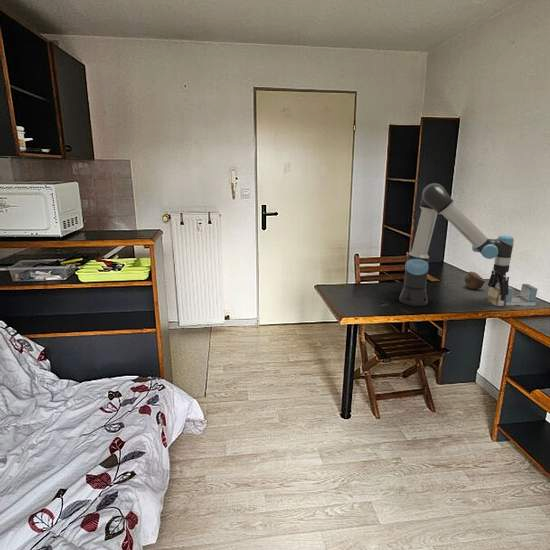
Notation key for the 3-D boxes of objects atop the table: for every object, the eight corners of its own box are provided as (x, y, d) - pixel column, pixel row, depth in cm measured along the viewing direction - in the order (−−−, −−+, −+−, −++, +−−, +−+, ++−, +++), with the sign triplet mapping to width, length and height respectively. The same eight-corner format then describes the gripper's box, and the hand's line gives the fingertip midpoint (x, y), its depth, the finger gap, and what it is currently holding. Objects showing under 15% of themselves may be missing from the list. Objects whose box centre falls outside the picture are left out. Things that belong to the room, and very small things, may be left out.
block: (494, 305, 221) (496, 291, 218) (487, 300, 228) (489, 287, 226) (503, 305, 221) (505, 291, 218) (495, 300, 228) (498, 287, 226)
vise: (506, 305, 221) (509, 289, 218) (495, 298, 231) (498, 283, 228) (535, 305, 220) (538, 289, 218) (523, 299, 231) (526, 283, 228)
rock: (489, 284, 242) (479, 276, 239) (476, 296, 246) (466, 288, 242) (477, 274, 253) (468, 266, 249) (465, 285, 256) (456, 278, 253)
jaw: (505, 301, 221) (508, 288, 219) (497, 296, 230) (499, 283, 228) (512, 301, 221) (514, 288, 219) (503, 296, 230) (505, 284, 227)
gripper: (520, 269, 207) (513, 309, 214) (498, 259, 229) (492, 295, 235) (506, 269, 207) (499, 309, 214) (484, 259, 229) (479, 295, 235)
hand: (495, 302), depth 224 cm, fingers open, 10 cm apart
